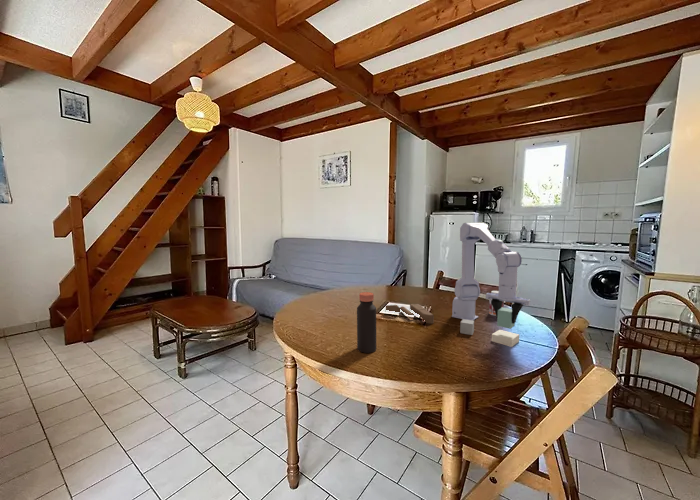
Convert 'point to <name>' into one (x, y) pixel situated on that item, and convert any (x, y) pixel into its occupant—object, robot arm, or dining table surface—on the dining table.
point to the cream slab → (505, 338)
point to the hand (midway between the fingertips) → (506, 321)
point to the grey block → (467, 326)
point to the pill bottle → (491, 309)
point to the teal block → (505, 318)
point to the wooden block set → (416, 308)
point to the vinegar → (366, 323)
